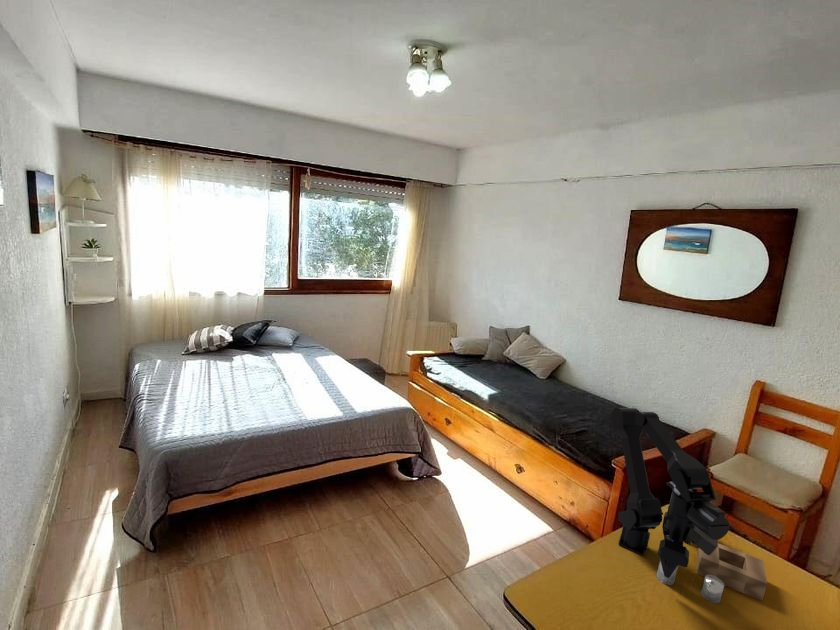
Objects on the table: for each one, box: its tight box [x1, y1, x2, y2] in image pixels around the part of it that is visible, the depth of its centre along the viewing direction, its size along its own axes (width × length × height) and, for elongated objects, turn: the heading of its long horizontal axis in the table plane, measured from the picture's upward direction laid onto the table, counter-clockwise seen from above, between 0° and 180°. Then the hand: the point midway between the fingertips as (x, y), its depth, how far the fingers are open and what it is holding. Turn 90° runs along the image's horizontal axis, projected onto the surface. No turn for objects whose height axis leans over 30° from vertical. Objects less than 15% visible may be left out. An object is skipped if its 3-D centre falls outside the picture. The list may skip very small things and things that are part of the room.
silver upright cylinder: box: [656, 560, 679, 586], centre depth 114 cm, size 4×4×9 cm
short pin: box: [700, 575, 725, 604], centre depth 111 cm, size 4×4×4 cm
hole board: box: [696, 542, 768, 602], centre depth 119 cm, size 14×10×5 cm
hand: (668, 566), depth 115 cm, fingers open, 9 cm apart
